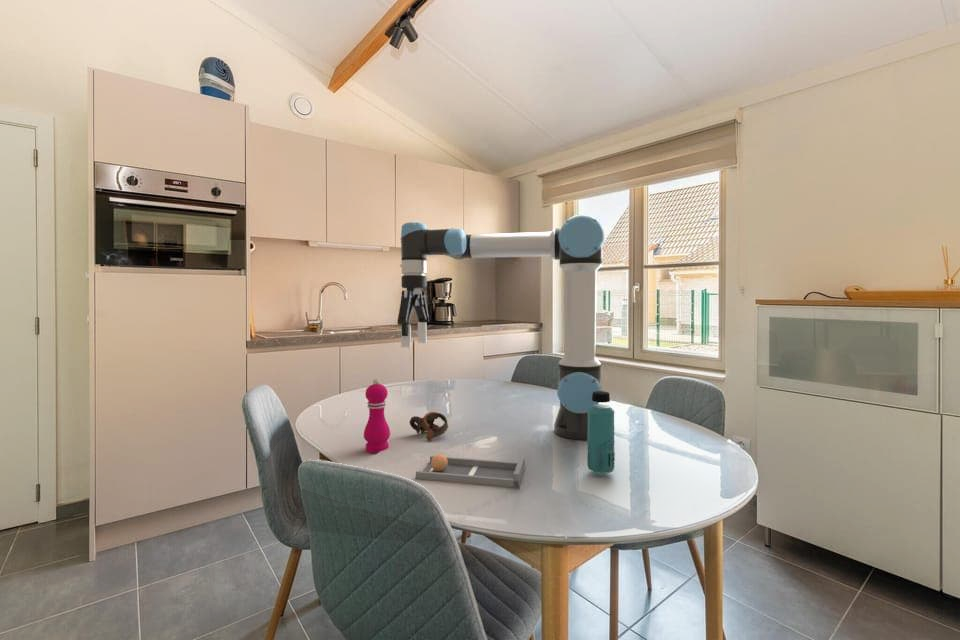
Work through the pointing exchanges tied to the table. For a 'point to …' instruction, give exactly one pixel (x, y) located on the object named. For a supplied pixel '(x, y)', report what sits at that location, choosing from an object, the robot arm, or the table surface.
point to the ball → (439, 462)
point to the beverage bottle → (600, 435)
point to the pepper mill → (376, 419)
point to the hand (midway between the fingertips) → (414, 345)
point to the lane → (477, 472)
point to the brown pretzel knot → (429, 425)
